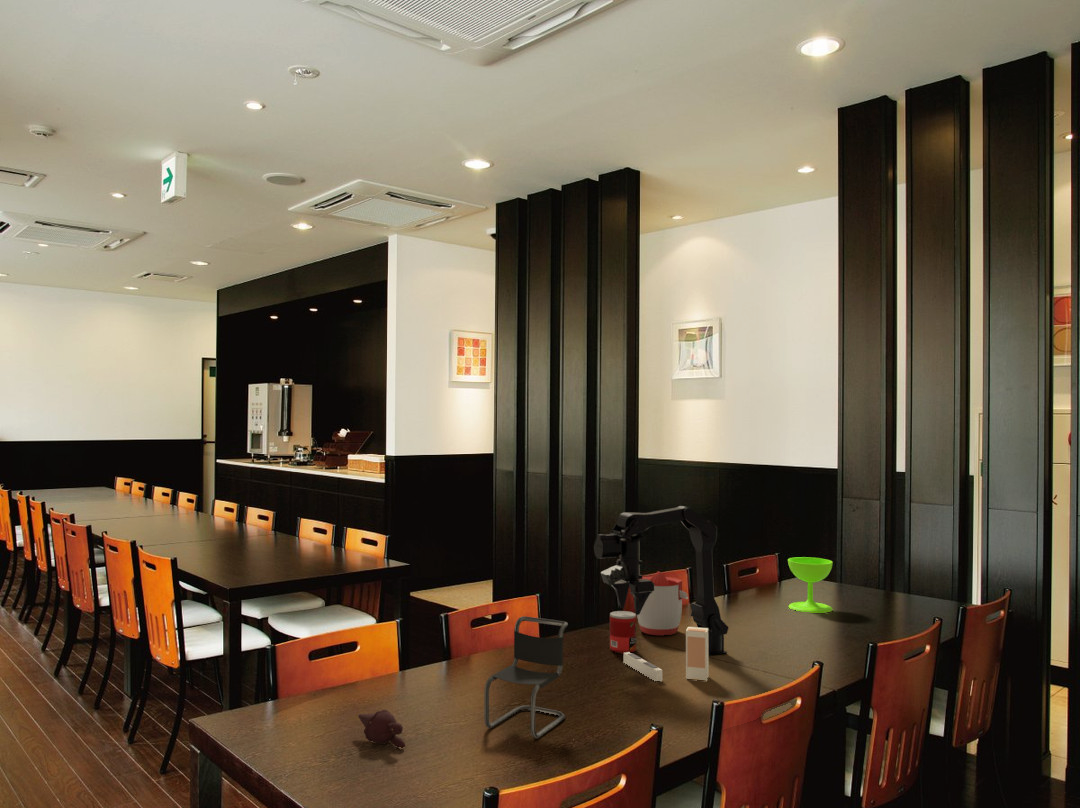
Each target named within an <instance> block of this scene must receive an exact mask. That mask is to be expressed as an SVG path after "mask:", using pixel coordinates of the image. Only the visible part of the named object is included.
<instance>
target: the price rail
mask: <svg viewBox="0 0 1080 808" xmlns="http://www.w3.org/2000/svg"><path fill="white" fill-rule="evenodd" d="M622 657H623V658H622V659H623V664H624V663H625V664H624V665H626V664H627V665H628V667H629V666H630V667H629V668H631V667H632V668H633V670H634V669H635V670H634V671H636V670H637V671H636V672H638V671H639V672H640V674H641V673H642V674H641V675H643V674H644V675H643V676H645V677H646V676H647V678H648V677H649V678H648V679H650V680H651V679H652V681H653V680H654V682H655V681H660V682H663V669H661V668H660V667H658V666H657V665H655V664H653V663H652V662H649V661H647V660H645V659H643V658H642V657H640V656H639V655H636V654H635V653H634V652H633V653H630V652H626V653H623V656H622ZM627 665H626V666H627ZM632 668H631V669H632ZM639 672H638V673H639Z"/></svg>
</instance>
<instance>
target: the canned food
mask: <svg viewBox="0 0 1080 808" xmlns="http://www.w3.org/2000/svg"><path fill="white" fill-rule="evenodd" d="M609 649H610V651H611V650H612V651H611V652H613V651H615V652H614V653H616V652H621V653H620V654H624V653H626V652H633V653H634V651H636V649H637V615H636V614H635V612H632V611H627V610H617V611H612V612H610V613H609Z"/></svg>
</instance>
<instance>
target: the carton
mask: <svg viewBox="0 0 1080 808" xmlns="http://www.w3.org/2000/svg"><path fill="white" fill-rule="evenodd" d="M686 678H687V679H699V680H706V681H705V682H708V679H709V655H708V628H698V627H697V626H687V628H686V630H685V679H686ZM707 678H708V679H707ZM687 679H686V680H687Z"/></svg>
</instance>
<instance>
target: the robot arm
mask: <svg viewBox="0 0 1080 808" xmlns="http://www.w3.org/2000/svg"><path fill="white" fill-rule="evenodd" d="M618 515H619V516H617V520H616V522H615V524H614V526H613V527H612V529H611V531H610V532H609V534H601V533H600V534H597V537H596V539H595V541H594V544H593V552H594V555H595V558H596V559H598V560H599V559H600V560H601V559H613V558H614V559H616V558H619V559H616V561H615V565H613V566H610V567H608V568H606V569H604V570H602V571H600V575H601V579H602V581H603V583H604V584H606V585H608V586H610V587H612V588H613V589H614V591H615V595H616V598H617V599H616V600H617V602H618V605H619V608H620V609H623V608H625V605H626V602H627V598H628V593H630V595H631V596H632V597H633V604H634V613H635V614H636V616H637V615H639V614H640V612H641V610H642V608H643V606H644V604H645V602H646V600H647V598H648V597H649V595H650V593H652V591H655V584H654V583H653V582H652V581H650V580H648V579H642V577H643V575H642V574H640V572H641V570H640V566H641V565H643V560H640V559H641V558H640V555H641V553H640V552H641V551H640V547H641V546H640V542H646V541H647V538H646V537H645V536H644V535H643V534H642V533H644V532H645V531H647V530H648V529H649V528H652V527H656V526H660V525H661V526H662V525H666V524H672V523H677V522H681V523H682V525H683V526H684V527H685V528H686V529H687V530H688V532H689V537H690V541H691V543H692V546H693V548H694V549H695V565H696V566H695V567H696V586H697V588H696V589H697V591H696V592H697V593H696V594H697V595H696V596H697V598H696V600H695V601H694V602H691V603H690V607H691V609H690V610H691V611H690V617H692V620H693V622H694V623H696V627H698V628H708V656H710V655H711V656H715V655H714V654H719V655H723V654H724V653H727V654H728V651H726V650H725V635H727V634H728V631H729V626H728V625H727V624H726V622H724V621H723V619H722V618H721V617H722V616H721V611H720V606H718V603H717V601H716V599H715V590H714V588H715V587H714V586H715V585H714V568H713V567H714V565H713V550H714V547H715V545H716V543H717V537H718V527H717V524H715V523H714V522H712V521H709V520H707V519H706V518H704V517H703V516H701V515H699V513H697V512H695V511H694V510H693V509H692V508H691V507H689V506H684V505H679V506H677V507H672V508H667V509H666V508H665V509H660V510H653V511H650V512H630V511H628V512H621V513H620V514H618ZM629 589H630V590H629ZM724 655H725V654H724Z"/></svg>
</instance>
